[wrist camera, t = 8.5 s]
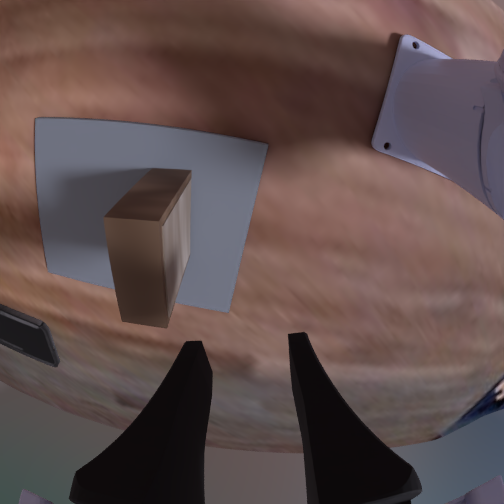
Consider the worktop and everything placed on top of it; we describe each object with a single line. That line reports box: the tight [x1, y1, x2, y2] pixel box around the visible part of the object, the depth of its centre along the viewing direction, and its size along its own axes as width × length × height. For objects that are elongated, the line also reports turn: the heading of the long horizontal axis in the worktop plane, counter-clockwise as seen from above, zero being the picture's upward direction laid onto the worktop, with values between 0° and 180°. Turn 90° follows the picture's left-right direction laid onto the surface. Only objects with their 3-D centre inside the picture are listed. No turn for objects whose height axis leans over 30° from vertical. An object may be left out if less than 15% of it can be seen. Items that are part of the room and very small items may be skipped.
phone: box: [0, 304, 60, 367], centre depth 27 cm, size 8×1×15 cm
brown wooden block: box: [103, 168, 192, 328], centre depth 16 cm, size 3×6×7 cm, turn 174°
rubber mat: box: [35, 117, 268, 313], centre depth 20 cm, size 16×13×1 cm
